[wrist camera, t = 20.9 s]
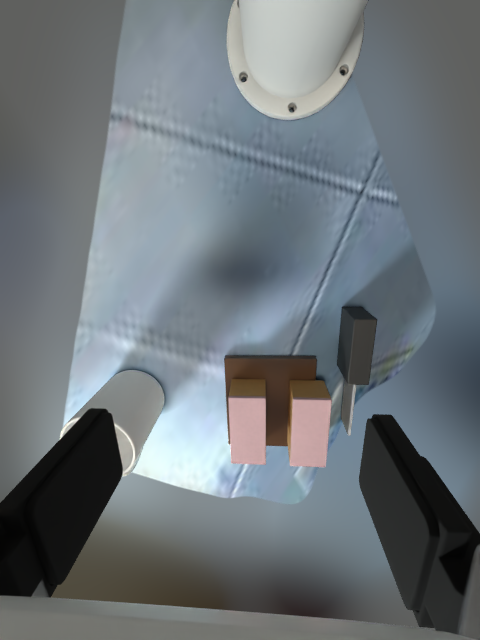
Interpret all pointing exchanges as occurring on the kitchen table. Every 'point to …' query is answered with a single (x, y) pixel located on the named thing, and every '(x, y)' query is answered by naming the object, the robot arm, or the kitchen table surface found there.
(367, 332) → the dark block with blade
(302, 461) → the cake slice
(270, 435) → the cake board
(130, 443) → the mug
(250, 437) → the block
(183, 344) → the kitchen table surface
